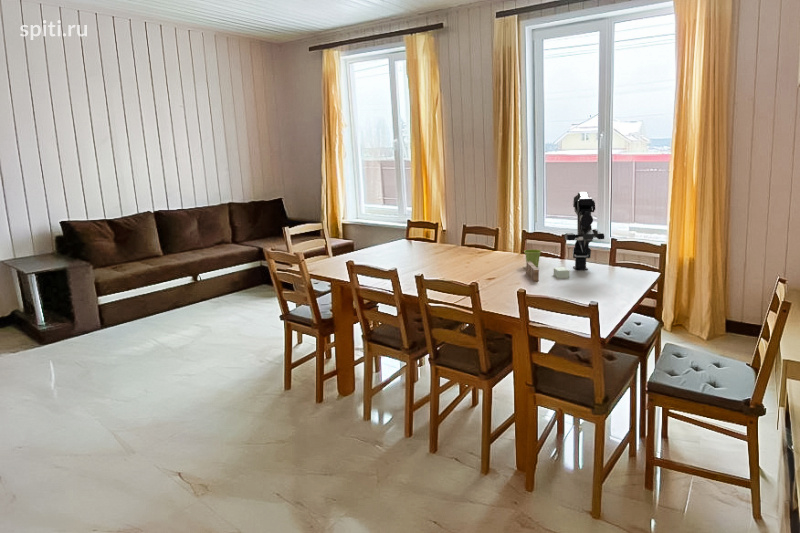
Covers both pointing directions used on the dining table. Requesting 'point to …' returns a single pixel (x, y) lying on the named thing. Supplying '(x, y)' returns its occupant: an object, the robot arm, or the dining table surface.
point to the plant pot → (532, 256)
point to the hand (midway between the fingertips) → (583, 252)
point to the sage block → (561, 272)
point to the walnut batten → (532, 271)
